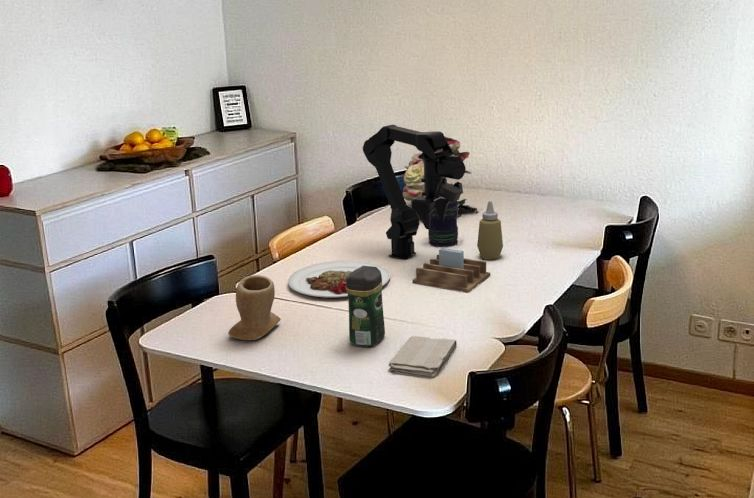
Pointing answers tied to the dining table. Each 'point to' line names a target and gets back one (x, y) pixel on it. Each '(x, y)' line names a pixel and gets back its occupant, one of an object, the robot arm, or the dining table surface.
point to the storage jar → (444, 227)
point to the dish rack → (452, 275)
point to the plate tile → (451, 258)
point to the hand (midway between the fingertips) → (434, 224)
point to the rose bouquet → (417, 173)
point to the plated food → (328, 278)
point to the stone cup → (254, 308)
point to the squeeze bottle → (490, 234)
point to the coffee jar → (365, 306)
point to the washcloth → (422, 356)
